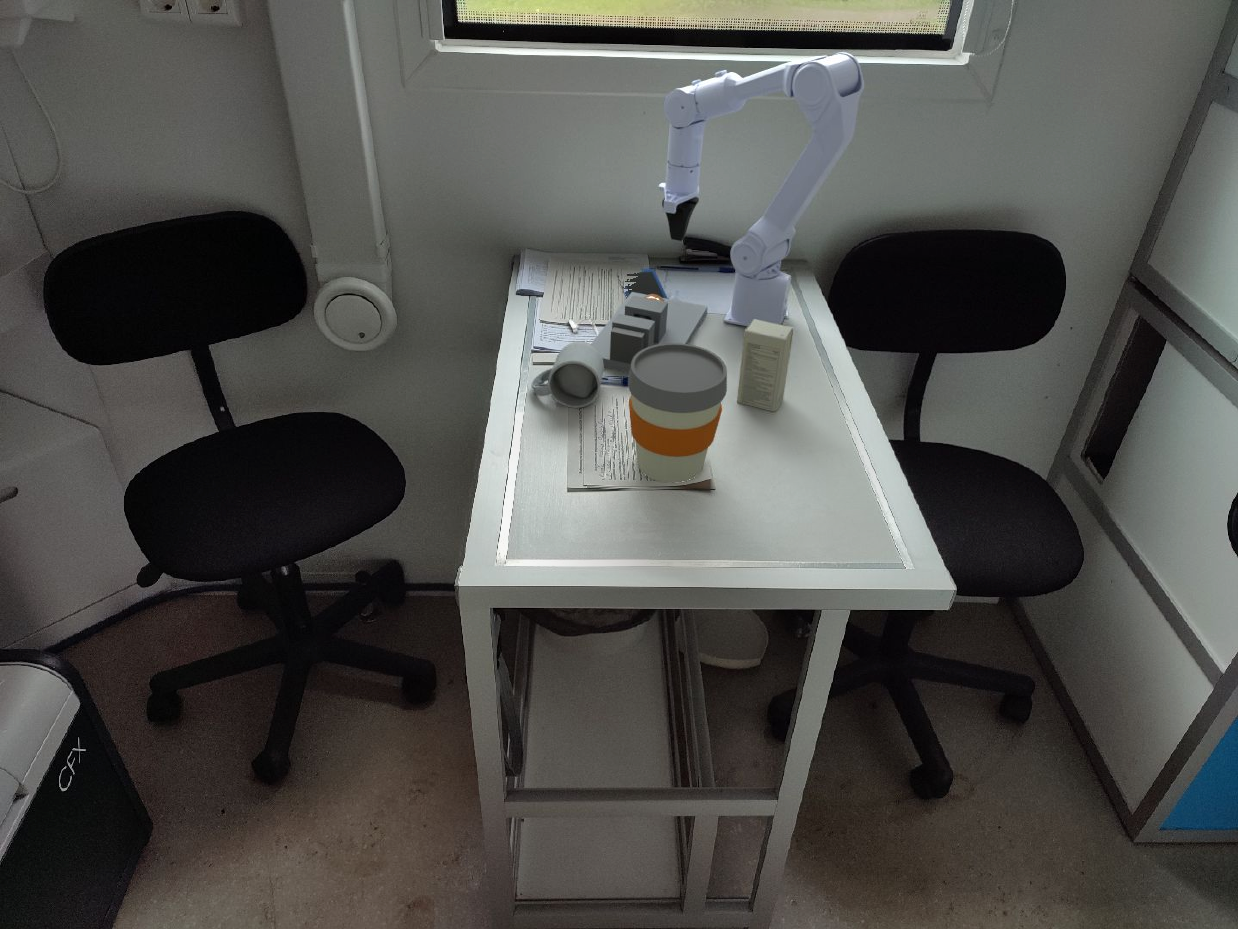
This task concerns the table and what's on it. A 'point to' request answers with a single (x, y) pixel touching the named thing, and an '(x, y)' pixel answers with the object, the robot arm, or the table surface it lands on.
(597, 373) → the ceramic mug
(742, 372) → the skincare box
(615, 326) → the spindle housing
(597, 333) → the picture light
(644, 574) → the table surface
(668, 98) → the robot arm
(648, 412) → the reusable coffee cup
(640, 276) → the cell phone
